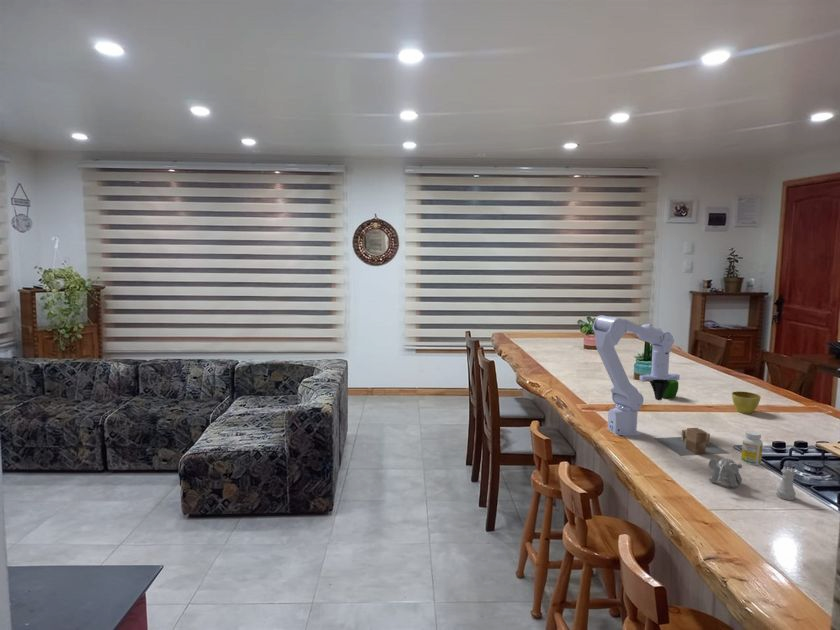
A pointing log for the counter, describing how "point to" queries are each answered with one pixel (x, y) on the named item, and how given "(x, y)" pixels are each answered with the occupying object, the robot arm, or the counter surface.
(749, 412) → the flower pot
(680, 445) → the mat
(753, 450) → the supplement bottle
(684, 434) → the beech block
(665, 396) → the bell pepper
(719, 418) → the counter surface
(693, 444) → the walnut block
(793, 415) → the counter surface
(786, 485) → the rook chess piece
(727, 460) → the elephant statuette
